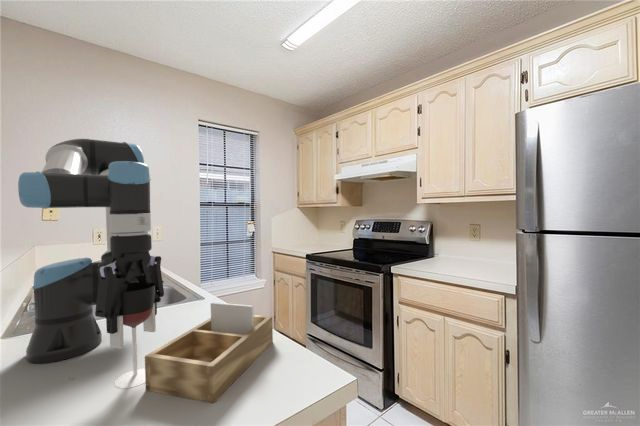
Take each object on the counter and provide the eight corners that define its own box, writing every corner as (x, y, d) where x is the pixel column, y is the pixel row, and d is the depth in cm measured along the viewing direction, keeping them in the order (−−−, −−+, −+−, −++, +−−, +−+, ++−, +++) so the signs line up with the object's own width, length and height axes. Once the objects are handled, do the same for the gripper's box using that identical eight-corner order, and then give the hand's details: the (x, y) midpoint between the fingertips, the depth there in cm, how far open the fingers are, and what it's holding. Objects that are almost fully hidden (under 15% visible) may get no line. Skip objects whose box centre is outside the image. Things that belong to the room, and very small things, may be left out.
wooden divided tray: (145, 390, 60) (144, 356, 60) (221, 335, 85) (221, 311, 85) (213, 403, 55) (212, 366, 55) (272, 341, 80) (272, 316, 80)
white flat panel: (211, 344, 77) (210, 303, 77) (213, 343, 78) (212, 302, 78) (252, 350, 74) (251, 306, 74) (254, 348, 75) (253, 305, 74)
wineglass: (137, 390, 60) (134, 292, 59) (102, 386, 61) (99, 291, 61) (165, 369, 67) (163, 282, 67) (133, 366, 69) (130, 281, 69)
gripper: (97, 239, 53) (101, 365, 53) (179, 230, 72) (182, 322, 73) (67, 238, 55) (71, 359, 55) (155, 230, 75) (157, 319, 75)
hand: (134, 338), depth 64 cm, fingers closed on wineglass, 7 cm apart
